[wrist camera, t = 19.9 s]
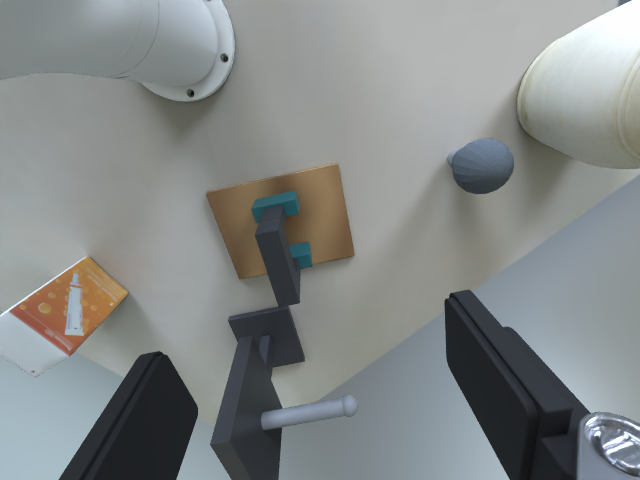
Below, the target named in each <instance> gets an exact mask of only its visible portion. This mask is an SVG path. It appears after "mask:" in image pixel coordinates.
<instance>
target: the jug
mask: <svg viewBox="0 0 640 480" xmlns="http://www.w3.org/2000/svg"><path fill="white" fill-rule="evenodd" d="M517 114H518V118H519V121H520V124H521V125H522V127H523V129H524V130H525V131H526V132H527V133H528V134H529V135H530V136H531V137H533V138H535V139H537V140H538V141H539V142H541V143H543V144H544V145H547V146H549V147H551V148H553V149H555V150H557V151H559V152H561V153H563V154H565V155H568V156H570V157H572V158H574V159H577V160H579V161H582V162H584V163H587V164H590V165H594V166H600V167H606V168H616V169H635V168H640V0H632V1H630V2H628V3H626V4H624V5H622V6H620V7H618V8H616V9H614V10H612V11H610V12H608V13H606V14H604V15H602V16H600V17H598V18H596V19H594V20H592V21H590V22H588V23H586V24H585V25H583V26H581V27H579V28H577V29H576V30H574V31H572V32H571V33H569V34H568V35H566V36H564V37H561V38H560V39H558V40H556V41H554V42H553V43H552V44H550V45H549V46H548V47H547V48H545V49H544V50H543V51H542V52H541V53H540V54H539V55H538V56H537V58H536V59H535V60H534V61H533V63H532V64H531V65H530V67H529V68H528V70H527V72H526V73H525V75H524V77H523V80H522V82H521V85H520V88H519V92H518V97H517Z"/></svg>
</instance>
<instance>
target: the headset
mask: <svg viewBox="0 0 640 480" xmlns="http://www.w3.org/2000/svg"><path fill="white" fill-rule="evenodd" d="M251 210H252V213H253V216H254V219H255V222H256V223H259V224H258V227H257V230H256V232H255V238H256V241H257V244H258V247H259V250H260V252H261V255H262V258H263V261H264V264H265V267H266V270H267V273H268V276H269V279H270V282H271V285H272V288H273V291H274V294H275V297H276V300H277V303H278V306H279V307H283V306H288V305H293V304H298V303H300V269H302V268H307V267H312V252H311V248H310V244H309V242H304V243H299V244H295V245H290V246H288V242H287V239H286V235H285V232H284V226H285V220H286V217H287V216H292V215H297V214H299V200H298V196H297V193H296V191H291V192H286V193H282V194H277V195H273V196H268V197H264V198H259V199H256V200H255V202H254V204H253V206H252V208H251Z"/></svg>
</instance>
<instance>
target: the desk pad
mask: <svg viewBox="0 0 640 480" xmlns="http://www.w3.org/2000/svg"><path fill="white" fill-rule="evenodd" d="M291 191H296V193H297V196H298V200H299V214H297V215H292V216H287V217H286V220H285V226H284V232H285V235H286V239H287V242H288V246H290V245H295V244H299V243H304V242H309V244H310V248H311V252H312V264H317V263H321V262H326V261H331V260H336V259H341V258H345V257H350V256H354V250H353V244H352V239H351V233H350V228H349V222H348V217H347V211H346V206H345V200H344V195H343V189H342V184H341V178H340V173H339V167H338V163H335V164H330V165H326V166H321V167H317V168H312V169H308V170H303V171H299V172H294V173H290V174H285V175H281V176H276V177H272V178H267V179H263V180H258V181H254V182H249V183H245V184H240V185H236V186H231V187H227V188H222V189H218V190H213V191H209V192H206V195H207V198H208V200H209V203H210V206H211V208H212V211H213V213H214V216H215V218H216V221H217V223H218V226H219V229H220V231H221V234H222V236H223V239H224V241H225V244H226V247H227V249H228V252H229V254H230V257H231V259H232V262H233V265H234V267H235V270H236V272H237V275H238V277H239V279H244V278H249V277H254V276H259V275H264V274H268V273H267V270H266V267H265V264H264V261H263V258H262V255H261V252H260V250H259V247H258V244H257V241H256V238H255V232H256V230H257V227H258V224H259V223H256V222H255V219H254V216H253V213H252V210H251V208H252V206H253V204H254V202H255V200H256V199H259V198H264V197H268V196H273V195H277V194H282V193H286V192H291Z"/></svg>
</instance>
